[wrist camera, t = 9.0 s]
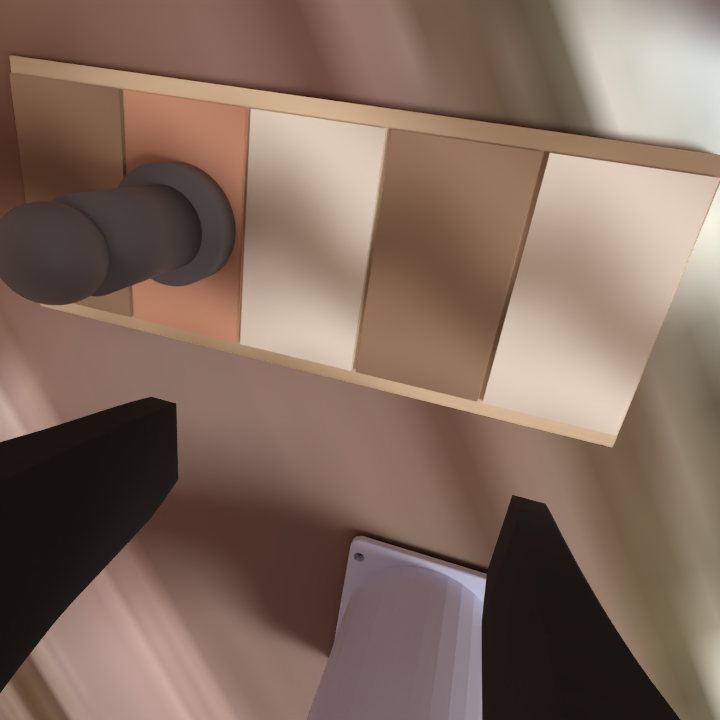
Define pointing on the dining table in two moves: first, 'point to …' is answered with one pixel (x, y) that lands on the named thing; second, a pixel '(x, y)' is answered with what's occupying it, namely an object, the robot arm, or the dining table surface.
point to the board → (392, 239)
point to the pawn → (119, 236)
